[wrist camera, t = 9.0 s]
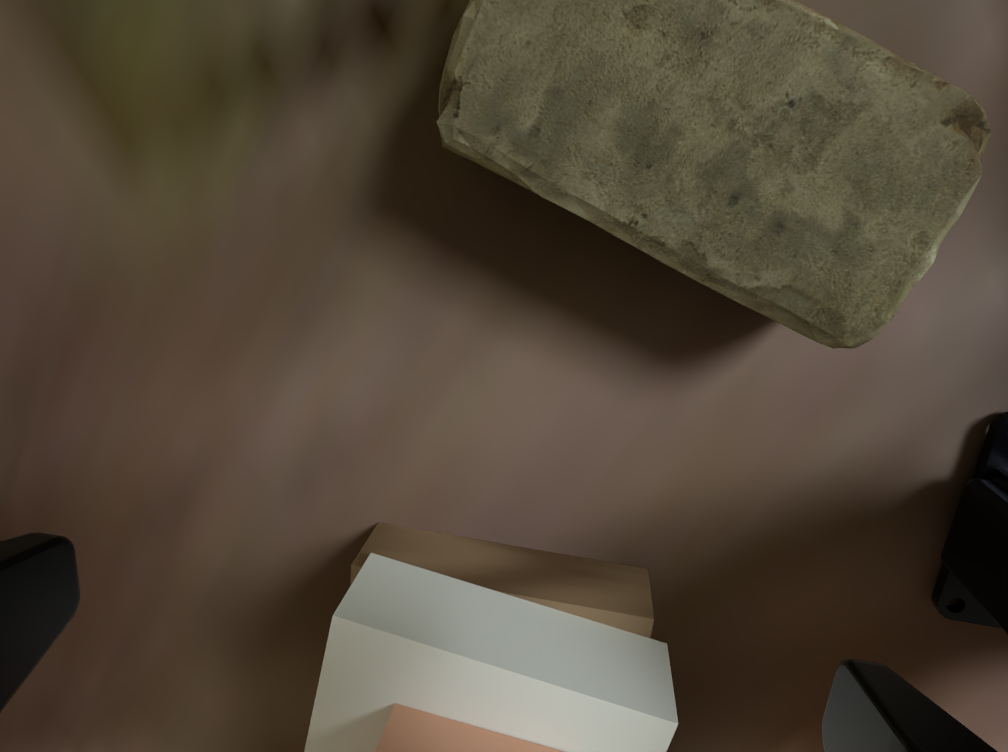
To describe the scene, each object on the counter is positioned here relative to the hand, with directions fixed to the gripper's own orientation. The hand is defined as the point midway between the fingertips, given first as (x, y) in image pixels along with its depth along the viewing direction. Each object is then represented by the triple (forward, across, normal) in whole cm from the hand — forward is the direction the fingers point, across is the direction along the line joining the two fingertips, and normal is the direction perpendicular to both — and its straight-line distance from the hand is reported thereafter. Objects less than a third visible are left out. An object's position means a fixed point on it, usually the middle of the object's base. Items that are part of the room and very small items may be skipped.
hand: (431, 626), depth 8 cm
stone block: (+13, -3, -6) cm, 15 cm away
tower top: (+10, 0, +11) cm, 15 cm away
